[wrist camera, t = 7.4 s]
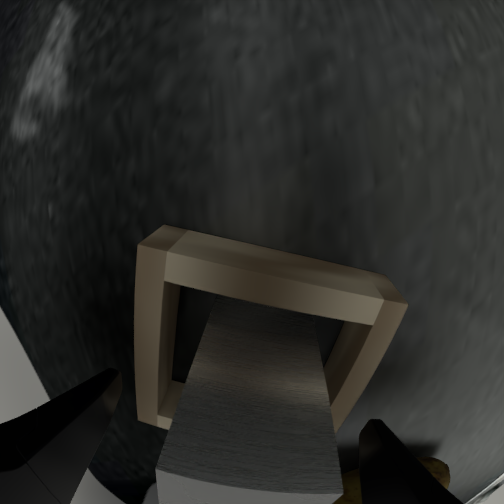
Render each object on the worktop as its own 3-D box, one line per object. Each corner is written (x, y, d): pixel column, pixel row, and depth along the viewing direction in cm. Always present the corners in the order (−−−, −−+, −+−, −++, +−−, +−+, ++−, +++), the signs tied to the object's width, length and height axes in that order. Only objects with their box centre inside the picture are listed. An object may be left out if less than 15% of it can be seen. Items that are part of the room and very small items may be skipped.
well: (385, 274, 11) (408, 304, 9) (315, 419, 14) (319, 455, 12) (164, 224, 11) (137, 244, 9) (153, 387, 14) (137, 420, 12)
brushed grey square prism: (312, 314, 12) (343, 493, 5) (286, 382, 13) (289, 536, 6) (217, 294, 12) (155, 469, 5) (204, 366, 13) (161, 517, 6)
